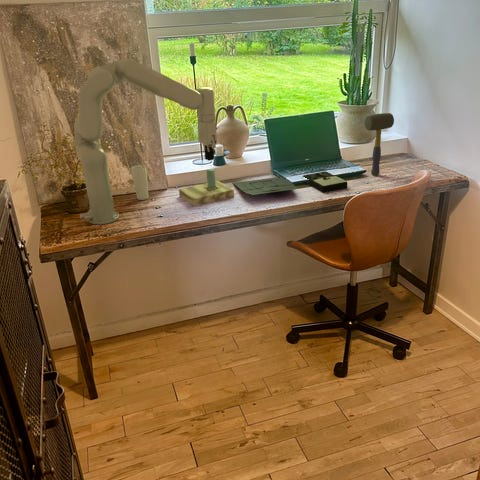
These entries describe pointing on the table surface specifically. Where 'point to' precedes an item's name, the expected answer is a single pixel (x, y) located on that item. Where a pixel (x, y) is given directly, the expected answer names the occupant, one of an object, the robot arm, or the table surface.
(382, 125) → the rubber mallet
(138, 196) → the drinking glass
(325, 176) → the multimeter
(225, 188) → the olive green slab
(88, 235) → the table surface
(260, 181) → the dark green panel
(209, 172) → the dowel
